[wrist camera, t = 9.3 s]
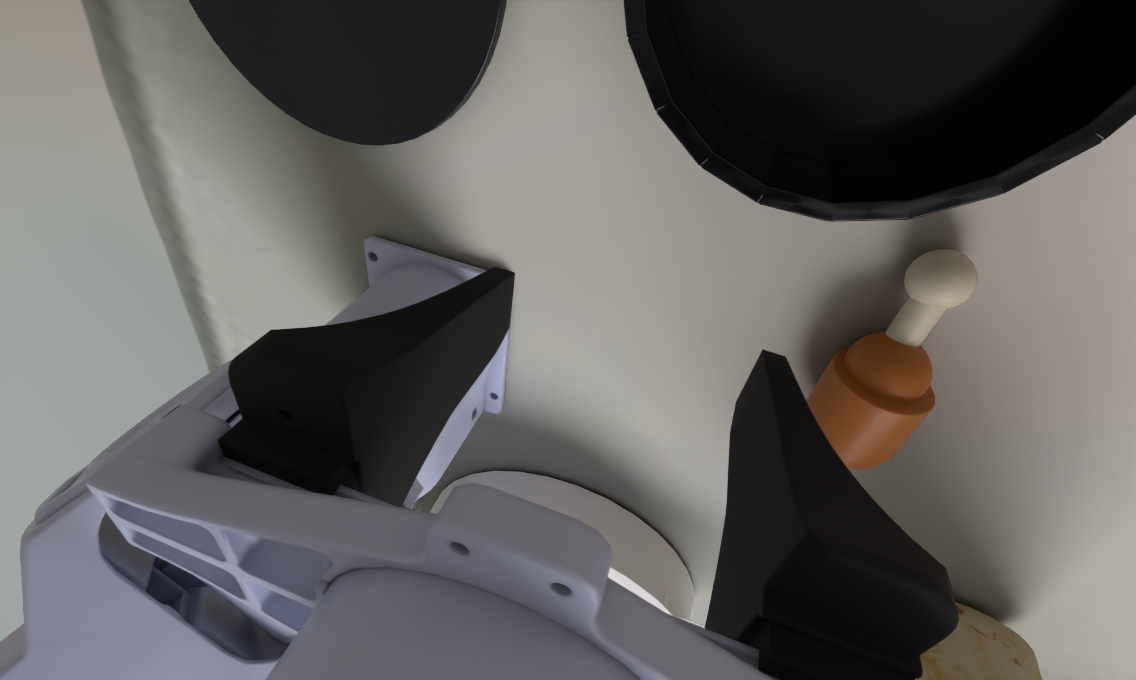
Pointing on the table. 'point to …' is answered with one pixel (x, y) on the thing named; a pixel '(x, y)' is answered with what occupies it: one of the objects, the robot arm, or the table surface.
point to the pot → (605, 536)
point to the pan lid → (359, 59)
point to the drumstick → (890, 367)
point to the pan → (885, 95)
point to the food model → (980, 652)
